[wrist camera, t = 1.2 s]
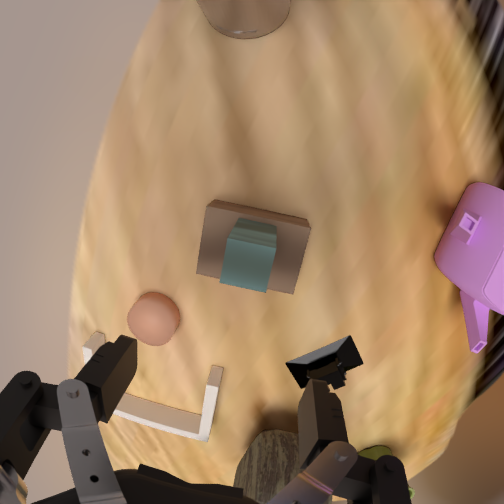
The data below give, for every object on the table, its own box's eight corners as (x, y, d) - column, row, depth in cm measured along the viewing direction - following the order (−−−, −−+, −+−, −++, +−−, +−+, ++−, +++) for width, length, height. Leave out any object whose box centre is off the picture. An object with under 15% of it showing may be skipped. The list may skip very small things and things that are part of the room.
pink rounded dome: (137, 286, 37) (127, 297, 34) (182, 298, 37) (175, 310, 34) (136, 326, 39) (127, 338, 36) (178, 338, 39) (171, 351, 36)
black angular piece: (292, 393, 41) (293, 416, 37) (269, 358, 39) (268, 381, 35) (374, 360, 38) (382, 381, 34) (358, 321, 37) (366, 341, 32)
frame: (95, 331, 40) (82, 346, 36) (223, 367, 40) (218, 387, 36) (102, 390, 44) (92, 405, 40) (212, 423, 44) (207, 442, 40)
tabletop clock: (285, 460, 46) (282, 583, 22) (237, 449, 46) (217, 576, 22) (324, 412, 41) (339, 564, 18) (267, 398, 41) (255, 562, 17)
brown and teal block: (214, 199, 33) (186, 222, 23) (307, 219, 33) (320, 251, 22) (204, 260, 35) (176, 305, 25) (291, 279, 35) (296, 331, 25)
